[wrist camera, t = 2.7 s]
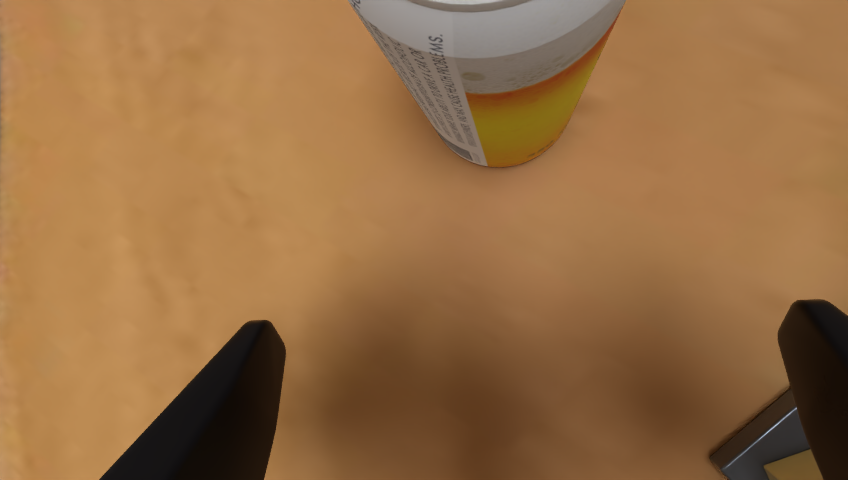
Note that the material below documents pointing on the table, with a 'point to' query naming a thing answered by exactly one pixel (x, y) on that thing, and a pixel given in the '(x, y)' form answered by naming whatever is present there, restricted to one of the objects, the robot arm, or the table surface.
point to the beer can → (493, 67)
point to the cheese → (770, 447)
